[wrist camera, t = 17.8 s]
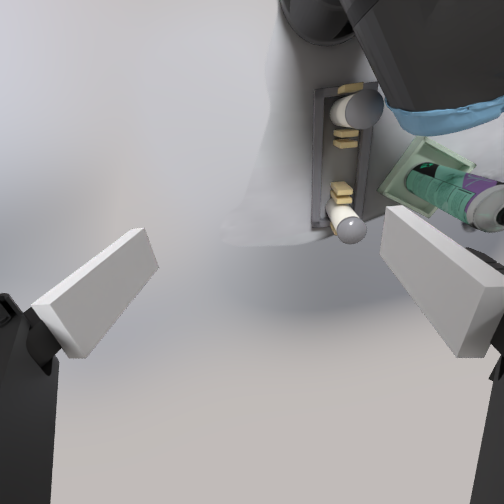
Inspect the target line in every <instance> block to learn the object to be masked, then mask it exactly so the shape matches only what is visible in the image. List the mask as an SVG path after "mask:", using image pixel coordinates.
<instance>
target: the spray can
mask: <svg viewBox="0 0 504 504" xmlns="http://www.w3.org/2000/svg"><path fill="white" fill-rule="evenodd" d="M404 185H405V188H406V189H407V190H408V191H409V192H411V193H412V194H414V195H416V196H418V197H420V198H421V199H423V200H425V201H427V202H429V203H430V204H432V205H434V206H436V207H438V208H440V209H441V210H443V211H445V212H447V213H448V214H450V215H452V216H454V217H456V218H458V219H459V220H461V221H463V222H465V223H466V224H468V225H470V226H472V227H474V228H475V229H478V230H481V231H484V232H489V233H492V232H499V231H503V230H504V183H502V182H498V181H495V180H491V179H488V178H484V177H481V176H477V175H474V174H470V173H467V172H463V171H459V170H456V169H452V168H449V167H445V166H442V165H438V164H435V163H431V162H421V163H418V164H416V165H414V166H413V167H412V168H410V169H409V171H408V172H407V174H406V175H405V178H404Z"/></svg>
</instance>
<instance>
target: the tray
mask: <svg viewBox="0 0 504 504" xmlns="http://www.w3.org/2000/svg"><path fill="white" fill-rule="evenodd" d="M421 162H431V163H435V164H438V165H442V166H445V167H449V168H452V169H456V170H459V171H463V172H467V173H470V172H471V171H472V170H473V169H474V168H475V167H476V164H474V163H472V162H470V161H469V160H467V159H465V158H463V157H461V156H460V155H458V154H456V153H454V152H453V151H451V150H449V149H447V148H445V147H444V146H442V145H440V144H438V143H436V142H435V141H433V140H431V139H429V138H427V137H426V136H416V137H415V139H414V140H413V141H412V143H411V144H410V146H409V147H408V148H407V150H406V151H405V152H404V154H403V155H402V157H401V158H400V159H399V161H398V162H397V163H396V165H395V166H394V168H393V169H392V170H391V172H390V173H389V174H388V176H387V177H386V179H385V180H384V181H383V183H382V184H381V185H380V187H379V188H378V190H377V191H378V192H379V193H381V194H382V195H384V196H386V197H388V198H390V199H392V200H394V201H396V202H398V203H400V204H402V205H404V206H406V207H408V208H410V209H412V210H414V211H416V212H417V213H419V214H421V215H423V216H425V217H427V218H430V217H431V216H432V215H433V213H434V212H435V211H436V210H437V209H438V207H436V206H434V205H432V204H430V203H429V202H427V201H425V200H423V199H421V198H420V197H418V196H416V195H414V194H412V193H411V192H409V191H408V190H407V189H406V188H405V185H404V178H405V175H406V174H407V172H408V171H409V169H410V168H412V167H413V166H414V165H416V164H418V163H421Z"/></svg>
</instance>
